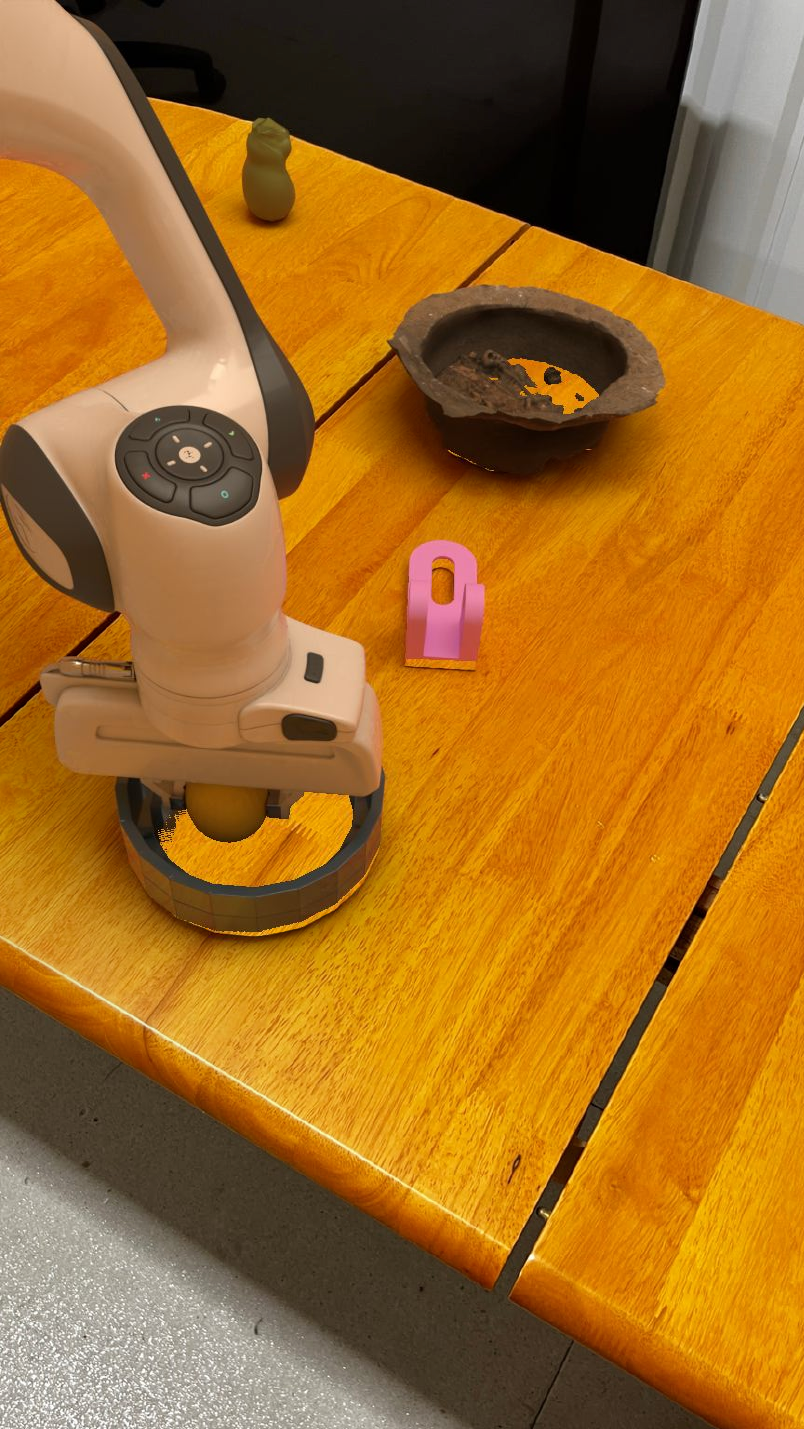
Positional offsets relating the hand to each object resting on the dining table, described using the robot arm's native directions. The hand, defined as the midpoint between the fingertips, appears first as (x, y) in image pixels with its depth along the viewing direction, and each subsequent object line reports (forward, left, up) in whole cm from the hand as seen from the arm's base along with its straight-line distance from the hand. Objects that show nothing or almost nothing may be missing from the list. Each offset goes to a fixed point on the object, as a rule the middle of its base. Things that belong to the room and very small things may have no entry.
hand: (229, 806), depth 82 cm
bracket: (+13, +24, -4) cm, 28 cm away
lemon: (0, 0, -3) cm, 3 cm away
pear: (-8, +79, -4) cm, 79 cm away
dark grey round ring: (+1, +1, -4) cm, 4 cm away
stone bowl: (+19, +50, -4) cm, 54 cm away
